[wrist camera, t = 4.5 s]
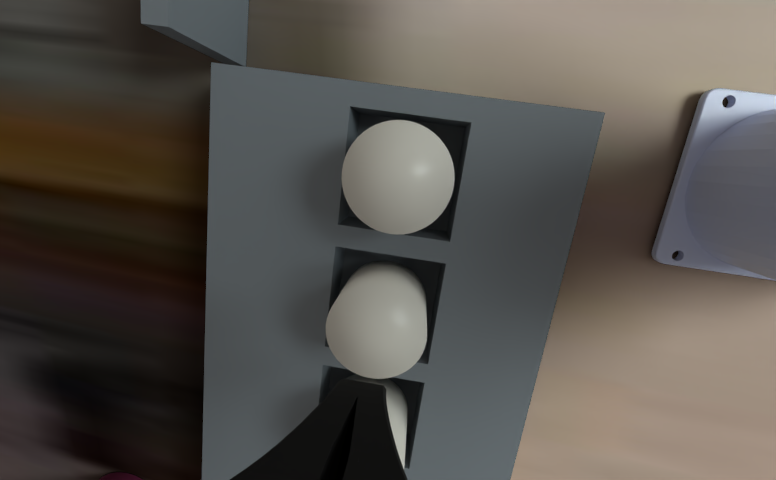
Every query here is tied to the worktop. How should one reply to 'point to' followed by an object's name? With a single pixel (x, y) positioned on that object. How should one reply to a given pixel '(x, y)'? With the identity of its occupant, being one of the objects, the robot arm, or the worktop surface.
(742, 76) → the worktop surface
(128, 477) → the cup
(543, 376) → the worktop surface
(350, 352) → the button
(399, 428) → the button
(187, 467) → the worktop surface
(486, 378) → the board
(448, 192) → the button
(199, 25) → the card
